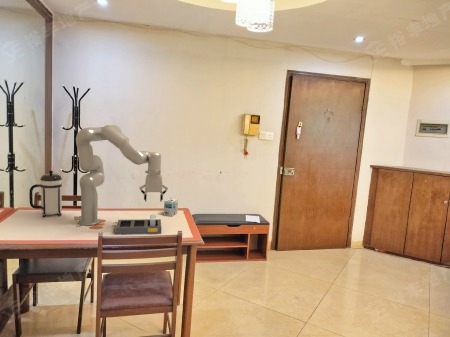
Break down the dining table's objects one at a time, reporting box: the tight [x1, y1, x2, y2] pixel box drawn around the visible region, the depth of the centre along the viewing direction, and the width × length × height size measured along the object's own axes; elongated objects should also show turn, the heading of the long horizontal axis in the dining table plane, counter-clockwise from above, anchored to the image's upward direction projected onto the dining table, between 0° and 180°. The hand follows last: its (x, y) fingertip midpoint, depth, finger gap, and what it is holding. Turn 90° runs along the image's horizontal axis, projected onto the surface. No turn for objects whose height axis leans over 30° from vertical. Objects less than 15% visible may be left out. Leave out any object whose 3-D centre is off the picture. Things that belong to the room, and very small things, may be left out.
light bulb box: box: [163, 197, 179, 217], centre depth 236 cm, size 11×7×11 cm, turn 168°
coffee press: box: [28, 170, 65, 218], centre depth 217 cm, size 17×16×30 cm
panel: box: [149, 214, 156, 226], centre depth 201 cm, size 3×10×7 cm, turn 14°
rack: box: [115, 218, 162, 236], centre depth 200 cm, size 26×16×4 cm, turn 103°
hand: (153, 200), depth 199 cm, fingers open, 8 cm apart
